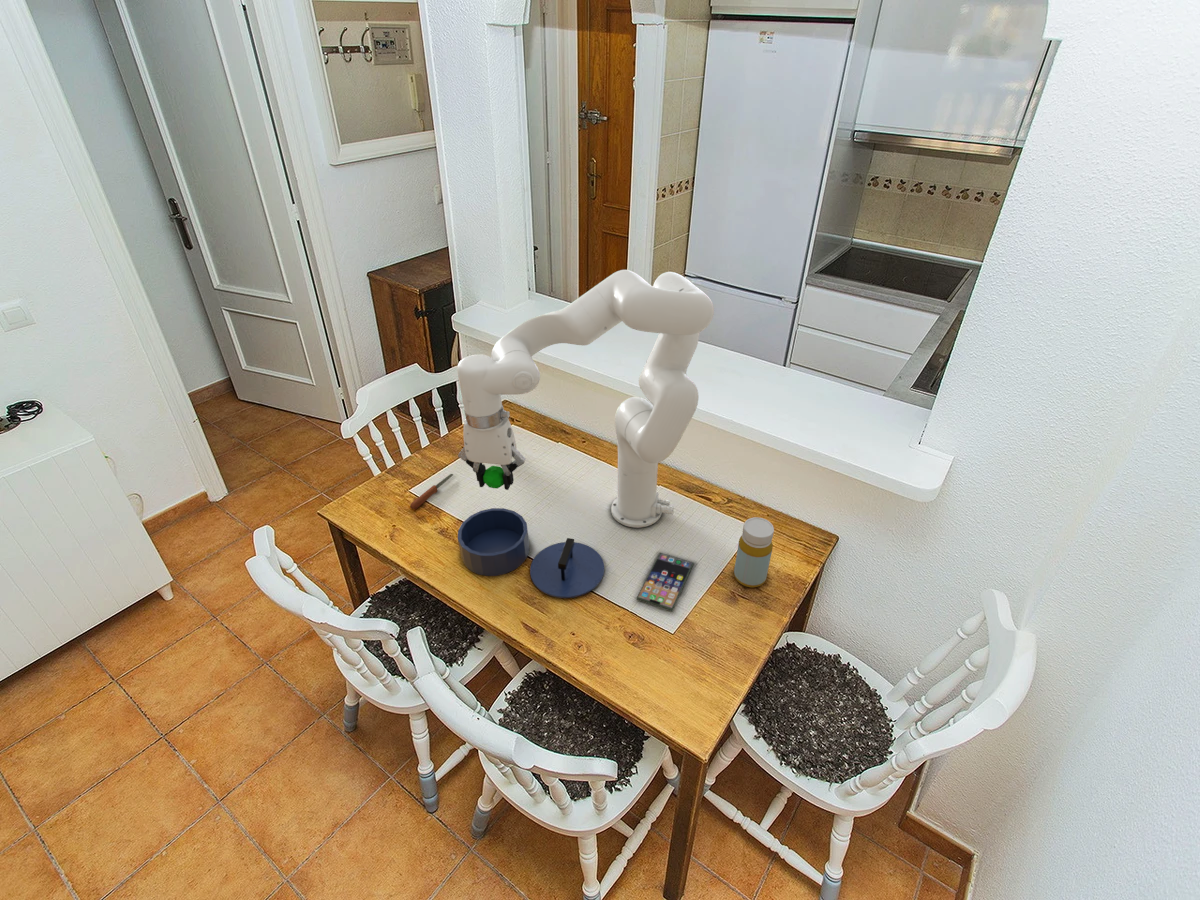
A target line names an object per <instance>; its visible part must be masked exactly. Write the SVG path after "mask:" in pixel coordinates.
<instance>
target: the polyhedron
mask: <svg viewBox="0 0 1200 900" xmlns="http://www.w3.org/2000/svg"><path fill="white" fill-rule="evenodd" d="M503 474H504V471H503V469H502V467H501V466H498V465H490V466H489V467H487V468H486V470H485V472H484V475H483V480H484V482H485V485H486V486H487V487H488V488H490V489H499V488H501V487H503V486H504V481H503Z"/></svg>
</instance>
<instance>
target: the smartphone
mask: <svg viewBox="0 0 1200 900" xmlns="http://www.w3.org/2000/svg"><path fill="white" fill-rule="evenodd" d="M694 563H695V562H693V561H690V560H686V559H683V558H679V557H676V556H673V555H670V554H666V553H663V552H659V553H658V555H657V557H656V559H655V561H654V563H653V565H652V567H651V569H650V571H649V573H648V574H647V576H646V579H645V580H644V582H643V584H642V586H641V588H640V590H639V592H638V593H637V596H636V598H635V599H636V601H639V602H642V603H646V604H648V605H652V606H654V607H657V608H661V609H664V610H666V611H669V612H673V611H674V609H675V607H676V605H677V602H678V600H679V598H680V595H681V594H682V591H683V589H684V586H685V585H686V583H687V582H686V581H687V580H688V578H689V576H690V573H691V571H692V569H693V567H694Z"/></svg>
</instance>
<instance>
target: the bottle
mask: <svg viewBox="0 0 1200 900" xmlns="http://www.w3.org/2000/svg"><path fill="white" fill-rule="evenodd" d="M774 533H775V528H774V525H773V523H772V522H770V520H768V519H765V518H763V517H757V516H756V517H755V516H754V517H750V518H747V520H745V521H744V523H743V527H742V532H741V536H740V537H739V540H738V543H737V549H736V557H735V562H734V569H733V576H734V579H735V580H736V581H737V582H738V583H739V584H740V585H742V586H744V587H746V588H757V587H761V586H762V585H764V584H765V582H766V580H767V577H768V571H769V567H770V563H771V558H772V553H773V548H774V547H773V546H774V544H773V537H774Z"/></svg>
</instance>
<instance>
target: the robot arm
mask: <svg viewBox="0 0 1200 900" xmlns="http://www.w3.org/2000/svg"><path fill="white" fill-rule="evenodd" d="M714 315H715V307H714V303H713V301H712V299H711V298H710V297H709V296H708V294H706V293H705V292H704V291H703V290H702V289H700V288H698V286H696V285H695V284H694V283H693V282H691V281H690V280H689V279H688V278H687V277H685V276H683V275H681V274H680V273H677V272H674V271H666V272H663V273H661V274H660V275H658V276H657V277H656V279H654V282H653V285H652V284H650V283H649V282H648V281H646V280H645V279H644V278H643V277H642V276H641V275H639V274H638V273H636V272H635V271H633V270H630V269H620V270H617V271H615V272H613V273H612V274H610V275H609V276H607V277H606V278H604V279H603V280H602V281H600V282H599V283H597V284H596V285H595V286H593V287H592V288H590V289H589V290H588V291H586V292H585V293H583V294H582V295H580V296H579V297H577V298H576V299H575V300H574V301H572V302H570V303H569V304H568V305H566V306H564V307H563V308H561V309H557V310H553V311H549V312H546V313H543V314H539V315H537V316H533V317H531V318H528V319H526V320H524V321H523V322H521V323H519V324H518V325H517V326H515V327H514V328H512V329H511V330H510V331H508V332H507V333H505V334H504V335H503V336H501V338H499V339H498V340H497V341H496V342H495V344H494V346H492V347H493V348H492V350H491V353H490V356H489V355H487V354H481V353H478V354H477V353H476V354H470V355H467V356H464V357H463V358H462V359H461V360H460V361H459V362H458V363H457V366H456V375H457V378H458V384H459V389H460V395H461V399H462V405H463V410H464V416H465V418H464V420H463V435H462V436H463V448H462V449H461V450H460V451H459V452H458V454H457V457H458V458H459V459H461V460H462V461H463V462H465V463H466V465H467V466H469V467H470V468H472V471H473V472H474V473H475V477H476V481H477V482H478V485H479V488H484V486H485V485H486V484H485V482H484V480H483V475H484V472H485V470H486V469H487V468H486V465H485V464H488V465H497V466H498V465H500V467H501V468H502V469H503V471H504V474H503V481H504V485H503V487H504V490H505V491H509V489H510V487H511V486H512V485H514V479H515V478H514V473H513V472H514V471H515V470H517V468H519V467H521V466H523V465H524V464H525V462H526V461H527V460H526V457H525V456H524V455H523V454H522V453H521V452H520V451H519V450H518V448H517V443H516V441H517V440H516V437H515V435H514V434H515V433H514V430H513V427H512V424H511V422H510V419H509V418H510V417H511V412H510V411H508V410H505V408H504V405H503V402H502V396H504V395H505V396H506V395H507V396H508V395H509V396H510V395H512V396H514V395H524V394H529V393H531V392H532V391H534V390H535V389H536V388H537V387H538V386H539V384H540V381H541V373H540V370H539V367H538V365H537V364H536V362H535V360H534V359H533V356H535V355H536V354H537V353H540V352H541V351H542V350H543V349H546V348H547V347H550V346H553V345H558V344H568V345H575V346H588V345H591V344H592V343H593V342H595V341H596V340H598V339H599V338H600V337H602V336H603V335H604V334H606V333H608V331H610V330H612V329H614V328H615V327H616V326H617V325H619V324H620V323H623V324H624V325H625V326H627V327H628V328H630V329H632V330H634V331H639V332H645V333H652V334H658V335H657V337H656V340H655V342H654V345H653V347H652V349H651V351H650V353H649V354H648V357H647V359H646V361H645V362H644V363H645V364H644V365H643V368H642V369H641V372H640V374H639V377H638V386H639V389H640V391H641V392H642V394H643V395H644V397H646V398H644V397H641V396H630V397H628V398H626V399H624V400H623V401H622V402H621V403H620V404H619V405H618V406H617V409H616V412H615V415H614V429H615V435H616V443H617V444H616V446H617V497H616V498H615V499H613V501H612V503H611V507H610V511H611V515H612V517H613V519H614V520H615V521H617V522H618V523H619V524H621V525H623V526H625V527H629V528H634V529H635V528H636V529H637V528H638V529H639V528H645V527H649V526H653V524H655V523H656V522H658V521H659V520H660V518H661V516H662V513H665V514H666V515H667V514H669V515H674V510H675V506H673V505H670V504H671V500H670V499H661V497H660V495H659V494H660V493H659V492H657V489H658V471H659V470H658V469H659V463H661V462H663V461H665V460H666V459H667V458H669V457H670V456H671V455H672V454H673V452H674V451H675V450H676V448H677V446H678V445H679V443H680V441H681V439H682V437H683V435H684V433H685V432H686V431H687V428H688V426H689V424H690V422H691V420H692V418H693V417H694V415H695V413H696V410H697V408H698V404H699V390H698V387H697V385H696V384H695V382H694V380H692V379H691V378H690V377H689V376H688V374H687V371H688V367H689V365H690V363H691V361H692V359H693V356H694V355H695V352H696V350H697V347H698V344H699V340H700V333H701V332H703V331H704V330H706V329H707V328H708V327H709V326H710V325H711V323H712V321H713V319H714ZM512 459H514V460H513V461H512Z"/></svg>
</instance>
